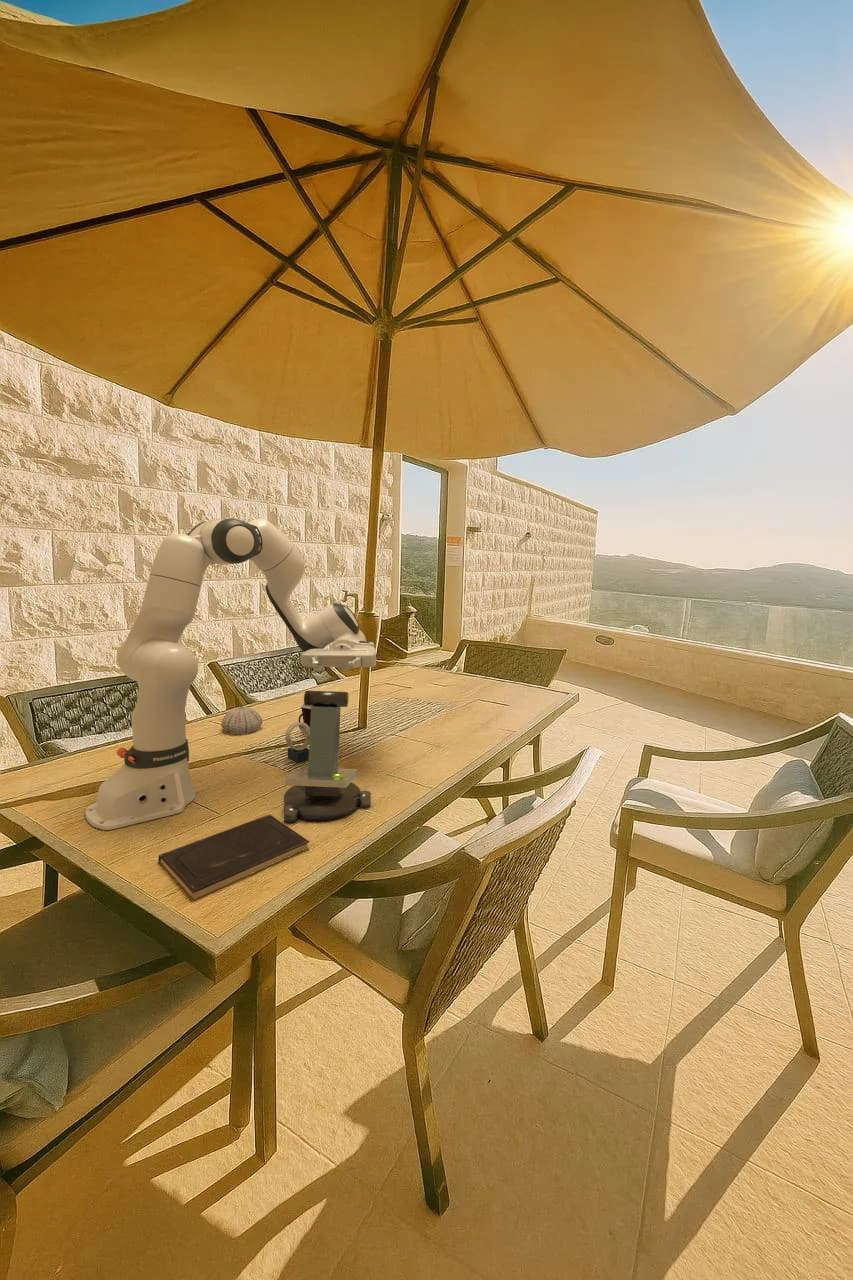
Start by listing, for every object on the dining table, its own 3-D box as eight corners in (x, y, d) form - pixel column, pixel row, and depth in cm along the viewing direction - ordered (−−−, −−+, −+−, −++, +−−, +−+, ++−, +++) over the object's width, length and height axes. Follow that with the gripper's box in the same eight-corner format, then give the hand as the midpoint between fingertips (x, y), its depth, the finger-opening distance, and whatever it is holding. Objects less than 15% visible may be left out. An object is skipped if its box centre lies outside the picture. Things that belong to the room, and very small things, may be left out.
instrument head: (301, 772, 128) (306, 689, 129) (356, 775, 128) (360, 691, 129) (284, 785, 114) (289, 691, 115) (346, 787, 114) (350, 693, 115)
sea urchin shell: (253, 721, 183) (252, 700, 182) (268, 731, 173) (268, 708, 172) (215, 728, 175) (214, 706, 174) (229, 739, 164) (228, 715, 163)
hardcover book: (309, 851, 102) (309, 840, 102) (193, 904, 86) (192, 891, 85) (268, 822, 113) (268, 813, 113) (158, 864, 97) (158, 853, 96)
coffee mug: (319, 728, 178) (319, 700, 176) (332, 734, 171) (332, 706, 170) (288, 734, 170) (288, 705, 169) (300, 741, 164) (299, 711, 162)
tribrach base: (298, 783, 132) (298, 763, 131) (376, 787, 131) (376, 767, 131) (271, 823, 112) (270, 799, 111) (363, 827, 111) (363, 803, 110)
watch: (316, 758, 150) (316, 722, 148) (292, 765, 144) (291, 728, 143) (305, 753, 154) (305, 718, 152) (282, 759, 148) (281, 723, 147)
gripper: (307, 642, 144) (292, 653, 130) (379, 642, 143) (371, 653, 129) (309, 663, 145) (294, 677, 132) (379, 663, 144) (372, 677, 130)
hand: (332, 665), depth 130 cm, fingers open, 8 cm apart
